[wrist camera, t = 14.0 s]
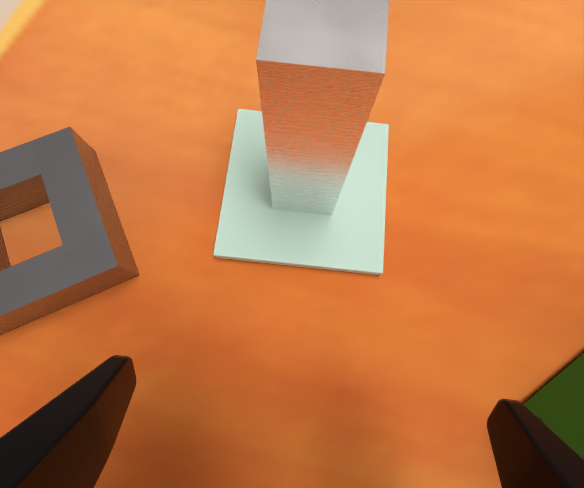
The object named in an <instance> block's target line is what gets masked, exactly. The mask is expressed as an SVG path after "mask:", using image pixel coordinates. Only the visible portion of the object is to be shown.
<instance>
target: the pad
mask: <svg viewBox="0 0 584 488" xmlns="http://www.w3.org/2000/svg"><path fill="white" fill-rule="evenodd" d="M388 128H389V124H382V123H372V122H367V123H366V126H365V128H364V131H363V134H362V136H361V139H360V142H359V144H358V147H357V150H356V152H355V155H354V158H353V160H352V163H351V166H350V168H349V171H348V174H347V177H346V179H345V182H344V185H343V187H342V190H341V193H340V195H339V198H338V201H337V203H336V206H335V209H334V211H333V214H332V216H330V215H321V214H313V213H304V212H295V211H286V210H277V209H273V207H272V198H271V189H270V180H269V171H268V162H267V153H266V144H265V135H264V126H263V117H262V111H254V110H244V109H238V113H237V119H236V124H235V130H234V136H233V142H232V148H231V154H230V160H229V166H228V172H227V177H226V183H225V189H224V195H223V201H222V207H221V213H220V219H219V225H218V231H217V236H216V242H215V248H214V254H213V255H214V256H215V257H216V258H223V259H232V260H242V261H251V262H260V263H270V264H279V265H288V266H298V267H307V268H316V269H326V270H335V271H344V272H354V273H363V274H372V275H381V274H382V273H383V257H384V231H385V206H386V180H387V154H388Z"/></svg>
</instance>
